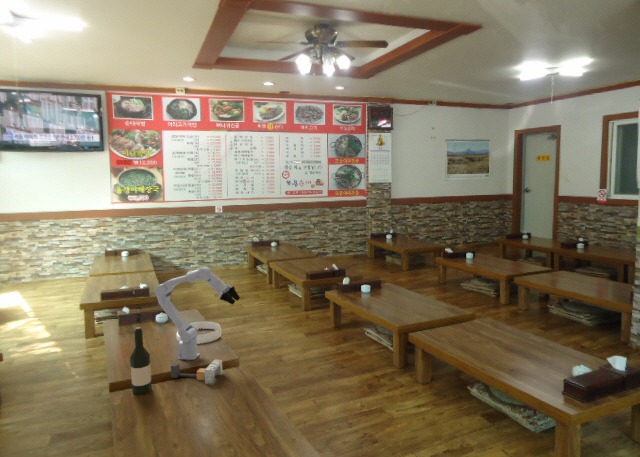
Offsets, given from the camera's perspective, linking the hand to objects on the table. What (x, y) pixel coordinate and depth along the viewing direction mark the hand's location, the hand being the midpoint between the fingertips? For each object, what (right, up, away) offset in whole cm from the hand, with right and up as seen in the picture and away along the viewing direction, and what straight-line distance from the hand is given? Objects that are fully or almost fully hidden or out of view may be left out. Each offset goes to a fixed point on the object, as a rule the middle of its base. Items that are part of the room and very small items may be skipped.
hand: (236, 301), depth 239 cm
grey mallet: (-19, -35, -17) cm, 43 cm away
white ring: (-31, -29, +41) cm, 59 cm away
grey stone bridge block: (-7, -35, -19) cm, 40 cm away
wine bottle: (-38, -37, -30) cm, 61 cm away
